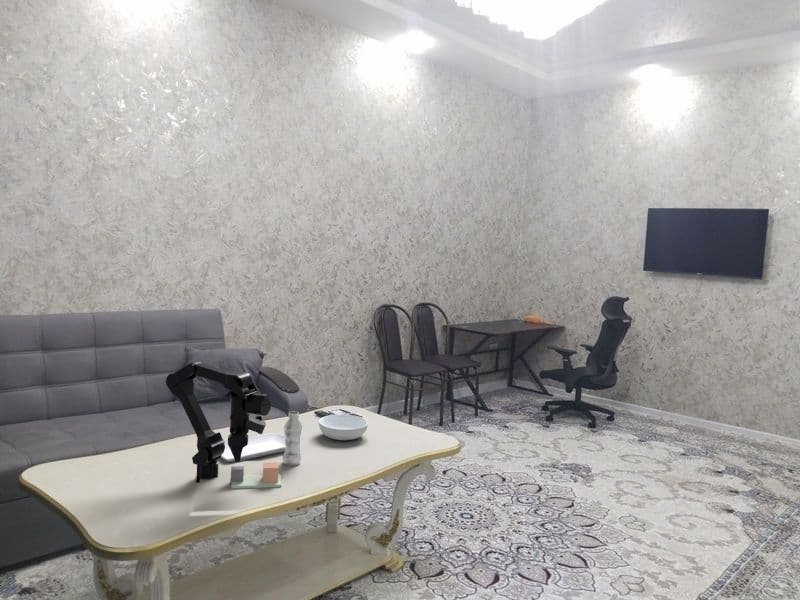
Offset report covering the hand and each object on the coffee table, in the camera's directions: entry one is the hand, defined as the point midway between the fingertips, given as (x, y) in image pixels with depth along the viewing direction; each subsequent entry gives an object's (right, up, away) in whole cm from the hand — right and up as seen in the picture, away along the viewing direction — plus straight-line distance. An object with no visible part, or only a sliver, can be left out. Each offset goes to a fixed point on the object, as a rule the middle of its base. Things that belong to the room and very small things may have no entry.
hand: (238, 457), depth 202 cm
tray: (-3, -7, +34) cm, 35 cm away
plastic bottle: (+14, -9, +22) cm, 27 cm away
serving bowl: (+29, -7, +58) cm, 65 cm away
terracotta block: (+10, -8, +3) cm, 13 cm away
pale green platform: (+6, -9, +2) cm, 11 cm away
